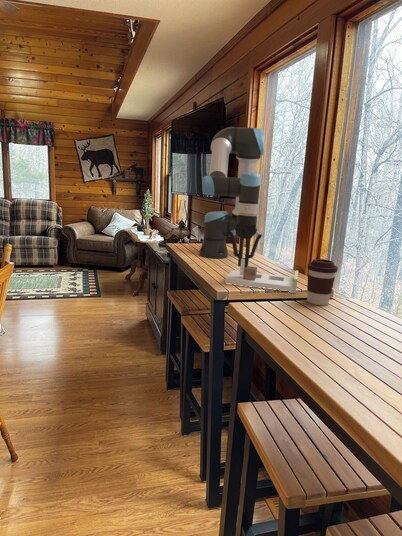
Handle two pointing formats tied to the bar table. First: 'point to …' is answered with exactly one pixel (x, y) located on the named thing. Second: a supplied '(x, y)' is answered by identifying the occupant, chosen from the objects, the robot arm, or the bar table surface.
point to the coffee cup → (320, 281)
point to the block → (250, 273)
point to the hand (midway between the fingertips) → (242, 274)
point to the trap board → (265, 281)
